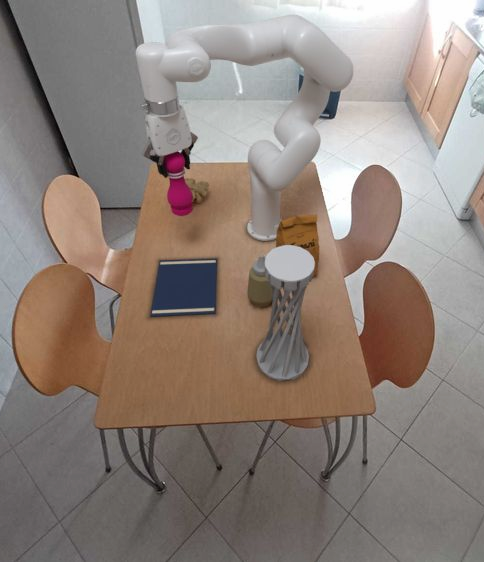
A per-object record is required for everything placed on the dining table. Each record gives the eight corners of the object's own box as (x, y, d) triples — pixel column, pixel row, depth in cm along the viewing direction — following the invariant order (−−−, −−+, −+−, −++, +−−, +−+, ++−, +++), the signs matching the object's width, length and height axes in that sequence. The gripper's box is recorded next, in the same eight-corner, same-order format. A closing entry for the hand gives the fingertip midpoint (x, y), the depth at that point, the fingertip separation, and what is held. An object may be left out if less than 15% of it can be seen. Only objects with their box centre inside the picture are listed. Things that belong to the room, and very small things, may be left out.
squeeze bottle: (279, 293, 116) (281, 249, 102) (269, 314, 111) (271, 270, 97) (253, 286, 117) (252, 242, 104) (243, 306, 112) (241, 262, 99)
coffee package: (319, 281, 120) (328, 225, 103) (280, 287, 117) (283, 231, 101) (310, 258, 126) (317, 203, 110) (272, 264, 124) (274, 208, 107)
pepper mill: (192, 218, 112) (181, 155, 97) (167, 216, 112) (153, 153, 98) (196, 202, 117) (187, 140, 102) (173, 201, 117) (160, 139, 102)
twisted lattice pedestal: (306, 335, 106) (321, 239, 80) (310, 380, 97) (328, 288, 71) (256, 335, 106) (255, 238, 80) (256, 381, 97) (253, 288, 71)
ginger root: (196, 177, 152) (195, 162, 145) (216, 205, 147) (216, 191, 140) (159, 191, 147) (156, 176, 140) (178, 221, 141) (176, 207, 134)
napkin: (217, 259, 125) (217, 258, 124) (215, 314, 110) (215, 313, 110) (159, 261, 123) (159, 260, 123) (150, 317, 109) (150, 316, 108)
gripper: (135, 120, 86) (152, 188, 99) (202, 100, 94) (210, 167, 107) (121, 107, 90) (139, 175, 103) (186, 89, 97) (195, 155, 111)
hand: (175, 170), depth 105 cm, fingers closed on pepper mill, 6 cm apart
